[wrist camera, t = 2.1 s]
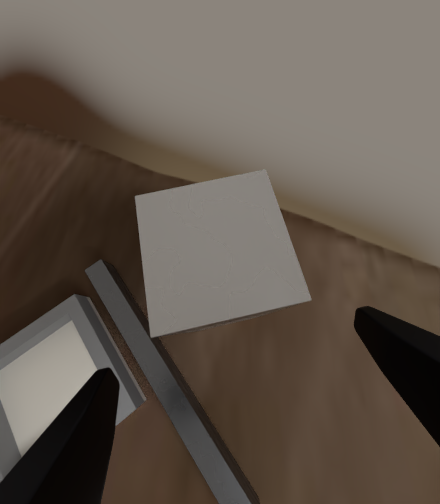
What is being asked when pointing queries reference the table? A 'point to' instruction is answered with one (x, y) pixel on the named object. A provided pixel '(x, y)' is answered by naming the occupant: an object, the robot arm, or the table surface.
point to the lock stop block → (216, 254)
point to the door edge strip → (172, 390)
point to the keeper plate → (55, 373)
